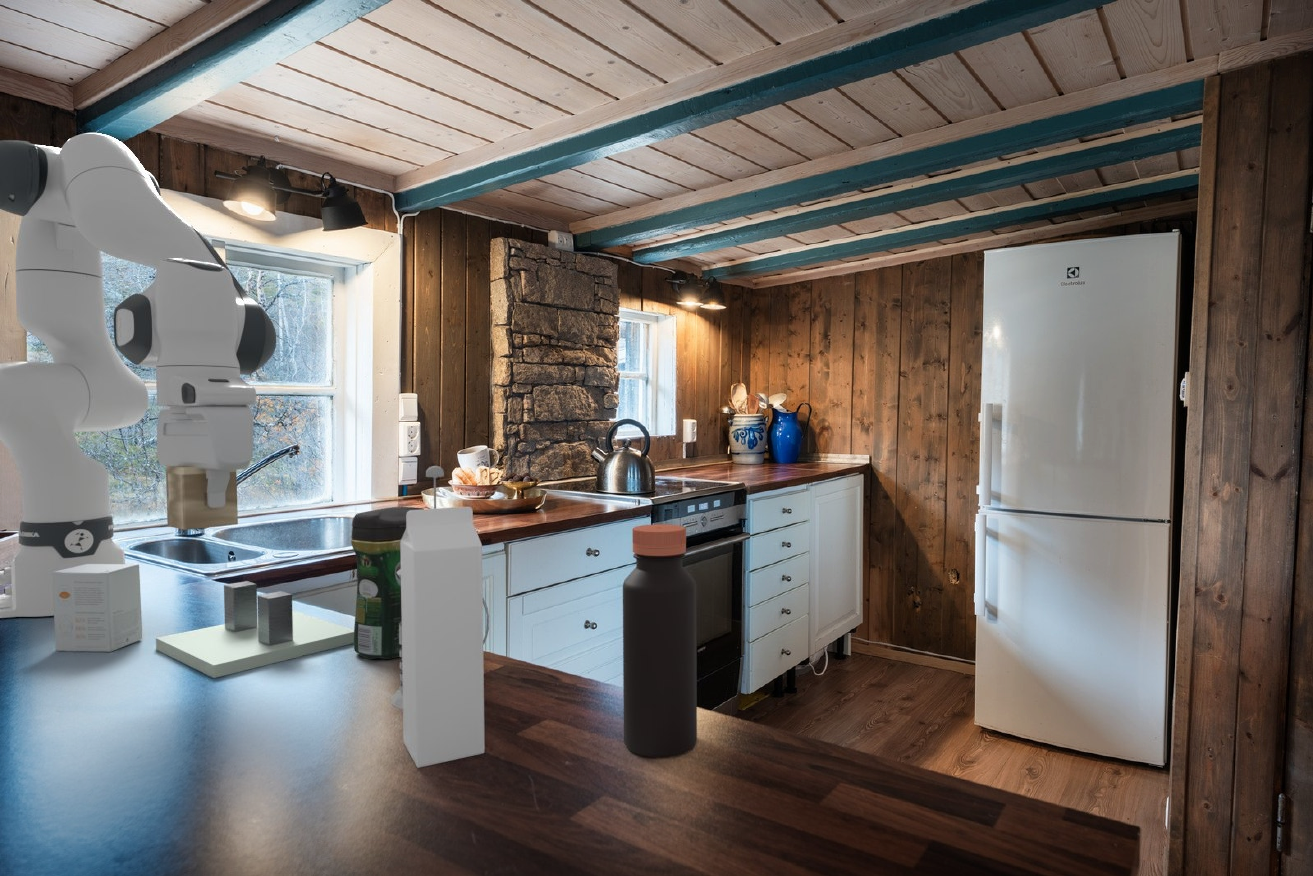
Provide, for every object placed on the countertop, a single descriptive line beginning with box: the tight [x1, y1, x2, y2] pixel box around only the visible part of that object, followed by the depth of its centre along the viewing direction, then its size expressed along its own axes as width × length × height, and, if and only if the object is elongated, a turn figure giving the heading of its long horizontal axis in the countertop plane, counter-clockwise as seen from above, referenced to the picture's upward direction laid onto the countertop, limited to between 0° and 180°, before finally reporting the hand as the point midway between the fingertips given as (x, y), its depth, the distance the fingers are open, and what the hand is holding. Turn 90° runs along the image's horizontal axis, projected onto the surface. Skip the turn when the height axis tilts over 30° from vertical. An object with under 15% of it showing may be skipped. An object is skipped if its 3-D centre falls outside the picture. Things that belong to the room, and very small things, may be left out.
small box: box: [52, 563, 143, 653], centre depth 103 cm, size 8×6×10 cm
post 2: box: [257, 590, 293, 646], centre depth 99 cm, size 3×3×8 cm
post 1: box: [223, 580, 258, 632], centre depth 105 cm, size 3×3×8 cm
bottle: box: [622, 523, 698, 759], centre depth 71 cm, size 7×7×20 cm
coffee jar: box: [350, 506, 424, 660], centre depth 100 cm, size 10×8×19 cm
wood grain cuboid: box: [165, 466, 239, 531], centre depth 94 cm, size 6×6×7 cm
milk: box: [400, 506, 485, 769], centre depth 70 cm, size 6×6×22 cm
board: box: [155, 609, 354, 679], centre depth 102 cm, size 18×18×2 cm
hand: (203, 505), depth 94 cm, fingers closed on wood grain cuboid, 6 cm apart
